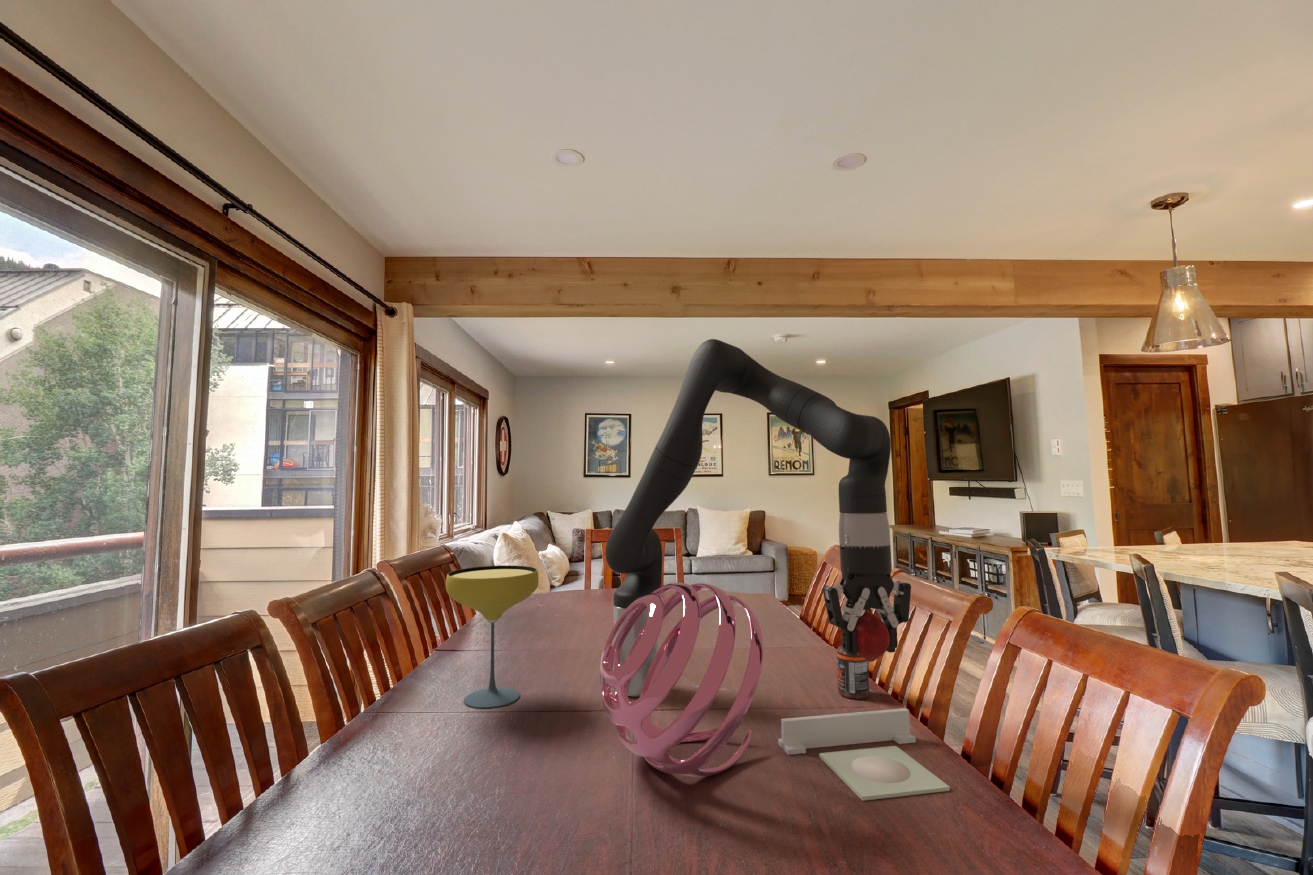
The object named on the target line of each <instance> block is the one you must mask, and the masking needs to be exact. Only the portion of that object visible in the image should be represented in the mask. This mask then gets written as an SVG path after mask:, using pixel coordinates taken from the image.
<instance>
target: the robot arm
mask: <svg viewBox="0 0 1313 875" xmlns="http://www.w3.org/2000/svg"><path fill="white" fill-rule="evenodd" d="M694 351H695V352H694V353H693V355H692V357H691V360H690V362H689V364H688V365H687V369H686V372H685V374H684V378H683V381H682V384H681V387H680V390H679V391H678V392H679V393H678V395H677V398H676V400H675V403H674V406H673V408H672V411H671V413H670V415H669V417H668V420H667V422H666V424H665V427H664V429H663V431H662V433H661V435H660V436H659V438H658V441H657V443H656V445H655V447H654V449H653V451H652V453H651V456H650V457H649V460H648V461H647V464H646V467H645V469H644V472H643V474H642V476H641V477H640V480H639V482H638V484H637V486H636V488H635V490H634V492H633V494H632V497H631V499H630V500H629V502H628V504H627V506H626V508H625V510H623V513H622V514H621V516H620V518H619V519H618V521H617V523H616V524H615V526H614V527H613V529H612V530H611V533H610V535H609V537H608V539H607V541H606V545H605V553H604V555H605V559H606V564H607V565H608V567H609V568H610V569H611V571H614V572H615V573H617V574H625V577H624V580H623V581H622V583H621V585H619V586H618V587H617V588H616V589H615V591H614V593H613V626H614V625H615V623H616V621H617V620H618V618H619V617H620V616H621V614H622V613H623V612H624V611H625V610H626V608H627V607H628V606H629V605H630V604H632V603H633V602H634V601H635V600H637V599H638V598H640V597H641V596H643V595H646V594H649V593H652V592H653V591H655V590H656V589H658V588H660V587H662V583H663V582H662V578H663V547H662V546H663V545H662V541H661V538H660V536H659V535H658V533H657V532H656V531H655V530H654V529H653V528H654V526H655V524H656V522H657V521H658V519H659V518H660V517H661V516H662V514H663V513H664V512H666V511H667V509H669V507H670V506H671V505H672V504H673V503H674V502H675V500H677V499H678V498H679V497H680V496H681V494H682V493H683V492H684V491H685V489H686V488H687V487H688V485H689V483H690V482H691V479H692V477H693V475H694V474H695V472H696V469H697V467H698V465H699V463H700V460H701V458H702V454H703V421H704V417H705V414H706V411H707V407H708V406H709V403H710V401H711V399H712V397H713V395H714V393H715V392H719V393H724V394H725V393H726V394H727V393H728V394H732V395H736V396H739V397H743V398H746V399H749V400H752V401H754V402H756V403H758V404H759V405H761V406H762V407H764V408H766V409H767V410H768V411H769V412H770V413H771V414H772V415H774V416H775V417H777V418H778V419H780V420H781V421H783V422H785V424H788V425H789V426H791V427H794V428H795V429H797V430H798V431H800V432H803V433H804V434H806V435H809V436H811V438H813V439H814V440H815V441H816V442H817V443H818V444H819V445H821V446H822V447H824V448H825V449H826V450H828V451H829V452H831V453H833V454H834V455H837V456H838V457H841V458H844V459H849V464H848V465H849V466H848V472H847V475H845V476H843V477H842V478H841V479H840V480H839V482H838V504H839V506H838V509H839V511H838V512H839V519H838V521H839V522H838V539H839V540H838V542H839V545H838V546H839V562H840V563H839V564H840V571H841V579H840V582H839V584H836V585H835V584H834V585H832V586H830V585H824V586H823V587H822V594H823V598H824V605H825V608H826V614H827V619H828V620H827V621H828V622H829V624H830V625H832V626H835V627H837V628H840V630H841V637H842V643H841V644H842V647H843V649H844V650H845V651H846V653H847V654H849V655H850V656H857V642H856V631H854V628H855V625H856V622H857V620H858V618H859V617H860V616H862V615H863V611H865V610H868V609H873V610H874V609H875V611H876V612H877V613H878V615H879V616H880V620H881V621H882V622H883V623H884V624H885V625H886V627H887V629H888V631H889V634H890V643H889V646H888V648H887V650H886V651H885V652H888V653H892V654H893V653H895V652H896V649H897V648H898V646H899V644H898V639H899V638H898V627H899V625H900V624H902V623H904V624H905V623H907V622H908V621H909V619H910V608H911V607H910V605H911V594H912V585H911V584H910V583H909V582H904V581H900V580H898V581H894V580H893V579H892V575H891V574H892V571H893V568H892V566H893V564H892V551H891V550H892V548H891V533H890V530H891V529H890V524H889V519H888V513H887V512H888V508H887V507H888V505H887V496H886V495H887V493H886V481H887V477H888V471H889V466H890V456H891V450H892V446H891V445H892V443H891V436H890V432H889V428H888V427H887V425H886V423H884V421H883V420H882V419H880V418H878V417H876V416H873V415H872V416H871V415H865V414H857V413H854V412H851V411H849V410H846V409H844V408H842V407H841V406H838V405H837V403H836V402H835V401H834V400H833V399H832V398H829V397H828V396H826V395H824V394H822V393H820V392H818V391H815V390H813V389H811V388H810V387H806V386H805V385H803V384H801V383H798V382H795V381H793V380H790V379H787V378H785V377H782V376H780V375H779V374H776V373H774V372H772V371H771V370H769V369H768V368H766V367H764V366H763V365H762V364H761V363H759V362H757V360H755V359H754V358H752V357H751V356H750V355H749V354H747V353H746V352H745V351H744V350H742V349H741V348H740V347H737V346H735V345H732V344H730V343H727V342H724V341H722V340H719V339H716V338H710V339H707V340H705V341H703V342H702V343H701V344H700V345H699V346H698V347H697V349H696V350H694ZM842 594H843V595H844V597H845V601H844V604H843V607H841V603H840V600H841V599H842ZM891 594H893V604H892V603H891V601H890V599H889V596H890V595H891ZM634 610H635V609H634ZM634 610H633V611H634ZM633 611H632V612H633ZM632 612H631V613H632ZM631 613H630V614H629V615H628V616H627V618H626V619H625V620H624V622H623V623H622V625H621V626H620V628H619V630H618V631H617V633H616V635H615V637H614V639H613V642H612V645H613V644H614V642H615V640H616V638H617V636H618V634H619V632H620V630H621V628H622V627H623V625H624V624H625V622H626V620H627V619H628V618H629V616H630V615H631ZM647 619H648V608H647V609H646V610H645V611H644V612H643V613H642V615H641V616H640V617H639V618H638V620H637V621H636V623H635V624H634V626H633V627H632V629H631V630H630V632H629V634H628V636H627V637H626V639H625V641H624V643H623V645H622V647H621V649H620V652H619V653H620V661H621V664H623V663H624V662H625V660H626V658H627V656H628V654H629V651H630V649H631V647H632V645H633V643H634V642H635V640H636V638H637V636H638V635H639V633H640V631H641V630H642V628H643V627H644V625H645V624H646V622H647ZM658 650H659V637H658V638H657V641H656V643H655V645H654V647H653V649H652V651H651V653H650V654H649V656H648V658H647V659H646V661H645V662H644V664H643V665H642V666H641V668H640V669H639V670H638V671H637V673H636V674H635V675H634V676H633V677H632V678H631V681H630V684H629V688H628V692H627V696H628V697H640V694H641V691H642V687H643V684H644V681H645V678H646V675H647V673H648V670H649V668H650V666H651V664H652V662H653V659H654V657H655V656H656V654H657V652H658ZM613 691H614V693H616V690H615V688H613Z"/></svg>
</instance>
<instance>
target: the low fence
mask: <svg viewBox="0 0 1313 875" xmlns="http://www.w3.org/2000/svg"><path fill="white" fill-rule="evenodd" d="M910 721H911V720H910V710H909V709H908V708H907V707H903V708H894V709H893V708H891V709H883V710H881V709H880V710H878V709H877V710H869V711H859V712H855V711H854V712H846V713H835V714H822V715H811V716H799V717H789V718H781V720H780V725H781V726H780V728H781V731H780V732H781V738H777V742H778V745H779V747H781V749H782V750H783V751H784V752H785V753H786V755H787V756H790V755H800V754H801V753H802V754H803V755H804V754H806V753H807V749H815V748H816V749H817V748H827V747H836V746H846V745H855V744H857V745H859V744H867V743H876V742H878V743H879V742H885V741H886V742H888V741H889V742H890V741H894V742H895V743H897V744H899V745H901V744H902V745H904V744H911V743H913V744H914V743H916V740H917V739H916V738H917V737H916V736H915V735H913V734H912V733H911V724H910V723H911V722H910Z"/></svg>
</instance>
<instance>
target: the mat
mask: <svg viewBox="0 0 1313 875" xmlns="http://www.w3.org/2000/svg"><path fill="white" fill-rule="evenodd" d="M818 756H819V757H818V758H820V760H822V761H823V762H824V763H825V764H826V765H827V766H828V767H829V768H830V769H831V771H833V772H834V773H835V774H836V775H837V776H838V777H839V778H840V779H841V781H842V782H843V783H845V785H847V787H848V788H849V789H850V790H852V792H853V793H854V794H855V795H857V797H858V798H859V799H860V800H861V801H862V802H863V801H873V800H879V799H880V800H881V799H889V798H899V797H907V796H915V795H923V794H932V793H933V794H934V793H941V792H943V793H944V792H950V791H951V788H950V786H949V785H948V784H946V783H945V782H944V781H943V780H941V779H940V778H938V777H937V776H936V775H935V774H933V773H932V772H931V771H930V770H928V769H927V768H925V767H924V766H923V764H920V763H919V762H918V761H916V760H915V759H914V758H913V757H911V755H909V754H907V753H906V752H905V751H903V750H902V749H901V748H899V747H898V746H896V745H890V746H879V747H869V748H858V749H850V750H849V749H848V750H840V751H839V750H837V751H829V752H828V751H827V752H820V753H818Z"/></svg>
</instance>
